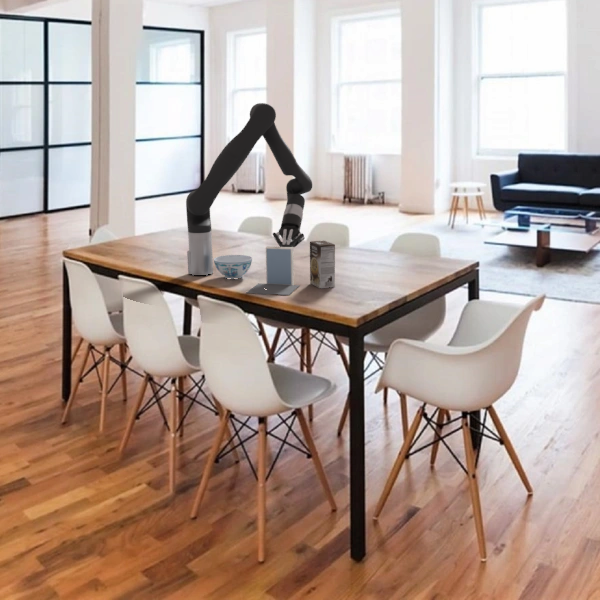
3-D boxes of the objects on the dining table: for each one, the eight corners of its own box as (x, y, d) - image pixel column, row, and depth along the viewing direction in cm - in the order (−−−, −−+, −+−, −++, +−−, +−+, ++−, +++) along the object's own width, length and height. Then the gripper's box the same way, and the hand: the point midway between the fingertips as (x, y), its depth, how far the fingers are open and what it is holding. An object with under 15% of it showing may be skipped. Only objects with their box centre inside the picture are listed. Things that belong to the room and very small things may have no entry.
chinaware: (206, 279, 281) (205, 260, 279) (228, 272, 294) (227, 253, 292) (239, 283, 274) (238, 263, 272) (259, 275, 287) (259, 256, 285)
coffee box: (309, 283, 272) (309, 241, 268) (324, 282, 274) (324, 240, 270) (319, 288, 264) (319, 245, 260) (335, 287, 266) (335, 243, 262)
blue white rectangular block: (266, 284, 272) (265, 247, 269) (268, 282, 275) (267, 246, 271) (292, 285, 270) (291, 248, 266) (293, 284, 272) (293, 247, 269)
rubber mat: (245, 293, 258) (245, 292, 258) (258, 284, 272) (258, 283, 272) (289, 295, 254) (289, 294, 254) (299, 286, 269) (299, 285, 268)
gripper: (274, 212, 283) (265, 248, 275) (307, 212, 280) (299, 249, 271) (278, 223, 289) (270, 259, 281) (310, 224, 286) (303, 260, 278)
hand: (284, 254), depth 276 cm, fingers closed
